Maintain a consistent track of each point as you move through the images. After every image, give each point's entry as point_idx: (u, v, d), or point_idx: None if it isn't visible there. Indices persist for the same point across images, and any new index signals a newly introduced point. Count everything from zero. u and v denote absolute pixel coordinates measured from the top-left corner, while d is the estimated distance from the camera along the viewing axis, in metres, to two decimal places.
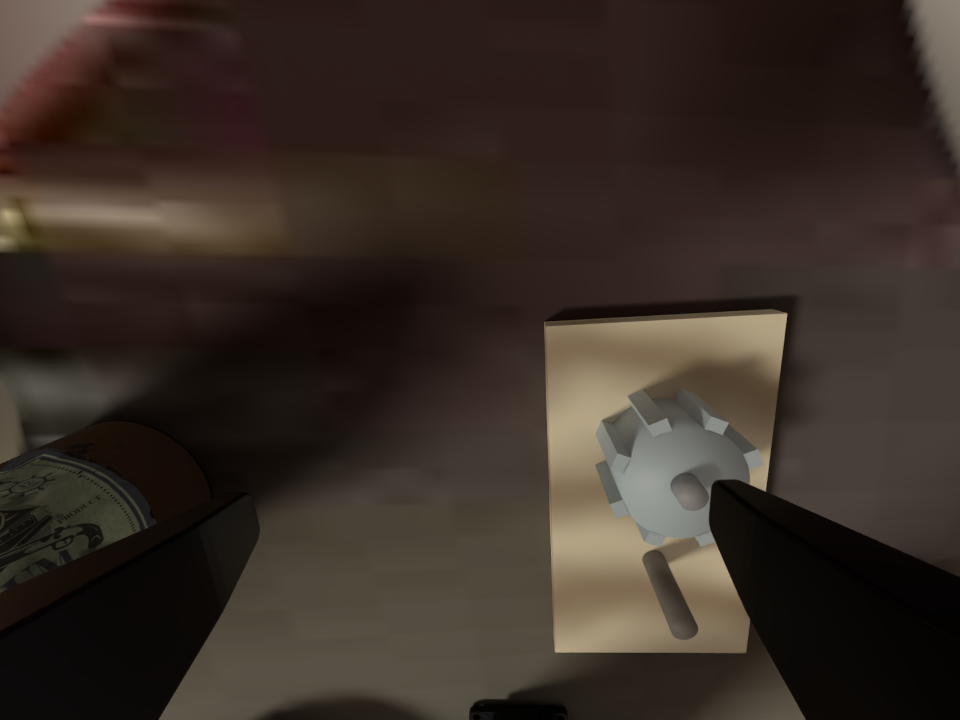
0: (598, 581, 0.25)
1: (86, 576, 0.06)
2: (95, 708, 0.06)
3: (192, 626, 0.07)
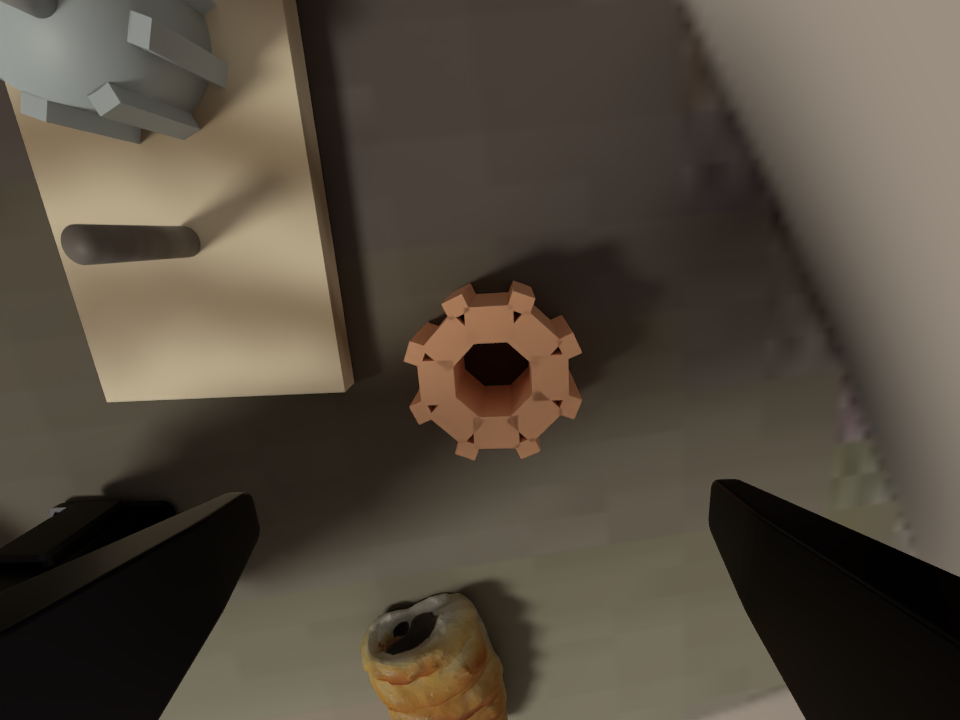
0: (126, 283, 0.18)
1: (86, 576, 0.06)
2: (95, 708, 0.06)
3: (192, 626, 0.07)
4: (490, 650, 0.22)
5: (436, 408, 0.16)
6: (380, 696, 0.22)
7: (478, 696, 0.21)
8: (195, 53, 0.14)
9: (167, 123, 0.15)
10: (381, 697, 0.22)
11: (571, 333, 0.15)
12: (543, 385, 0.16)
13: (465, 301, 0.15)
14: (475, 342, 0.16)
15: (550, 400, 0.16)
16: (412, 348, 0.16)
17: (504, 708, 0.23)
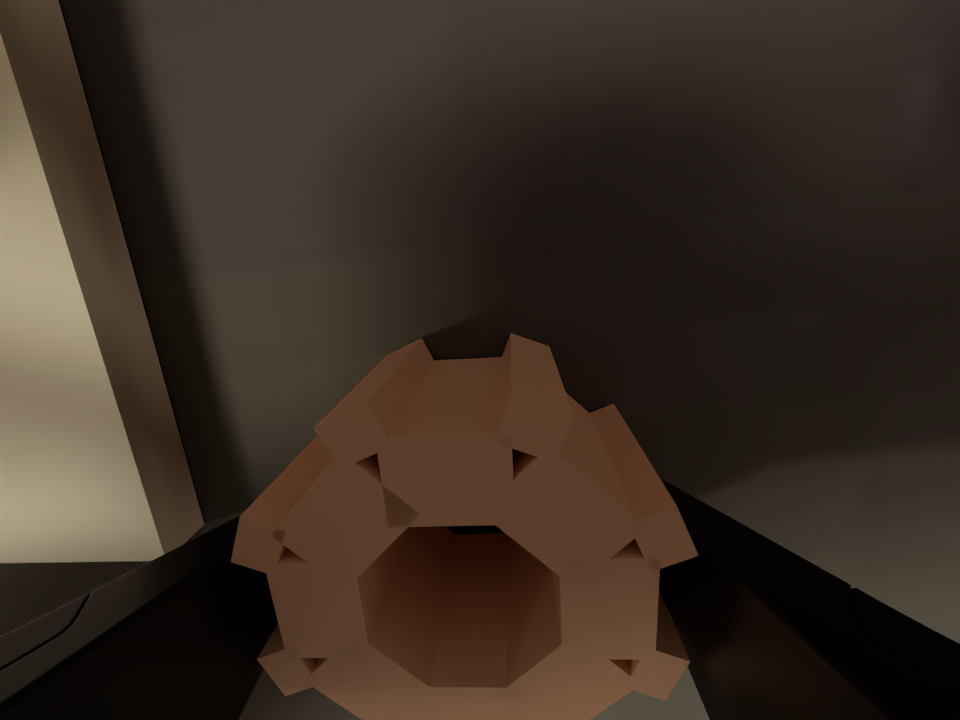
0: None
1: (175, 575, 0.06)
2: (186, 709, 0.06)
3: (266, 626, 0.07)
4: None
5: (323, 664, 0.07)
6: None
7: None
8: None
9: None
10: None
11: (672, 507, 0.06)
12: (590, 626, 0.06)
13: (380, 420, 0.06)
14: (412, 519, 0.06)
15: (607, 658, 0.06)
16: (249, 533, 0.06)
17: None
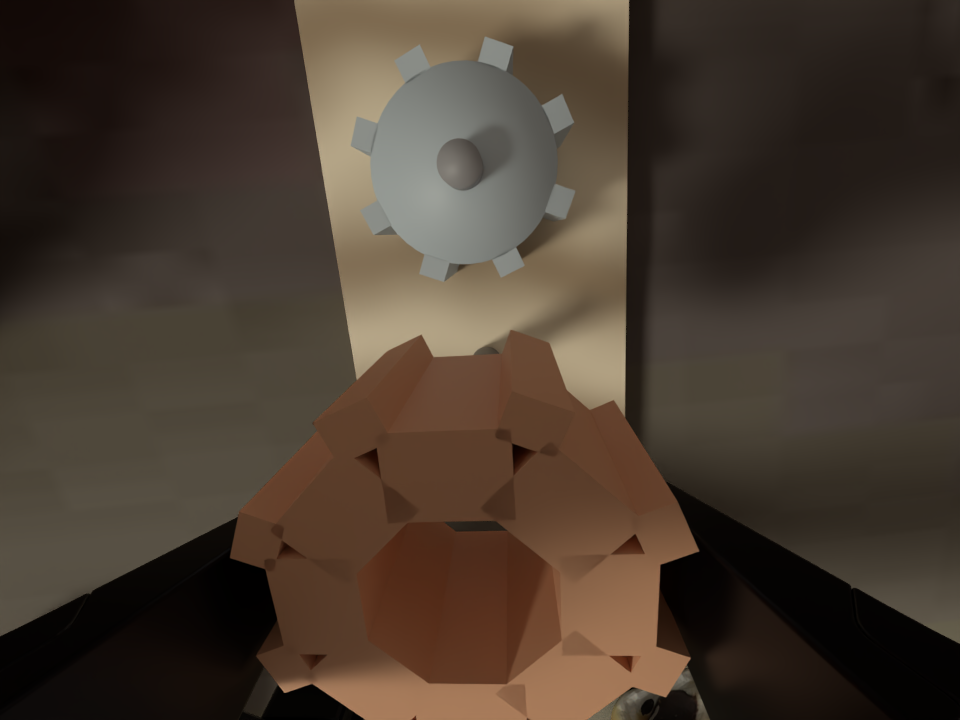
0: None
1: (174, 575, 0.06)
2: (186, 709, 0.06)
3: (266, 626, 0.07)
4: None
5: (322, 661, 0.07)
6: None
7: None
8: None
9: None
10: None
11: (672, 503, 0.06)
12: (590, 622, 0.06)
13: (380, 414, 0.06)
14: (412, 515, 0.06)
15: (607, 654, 0.06)
16: (248, 528, 0.06)
17: None
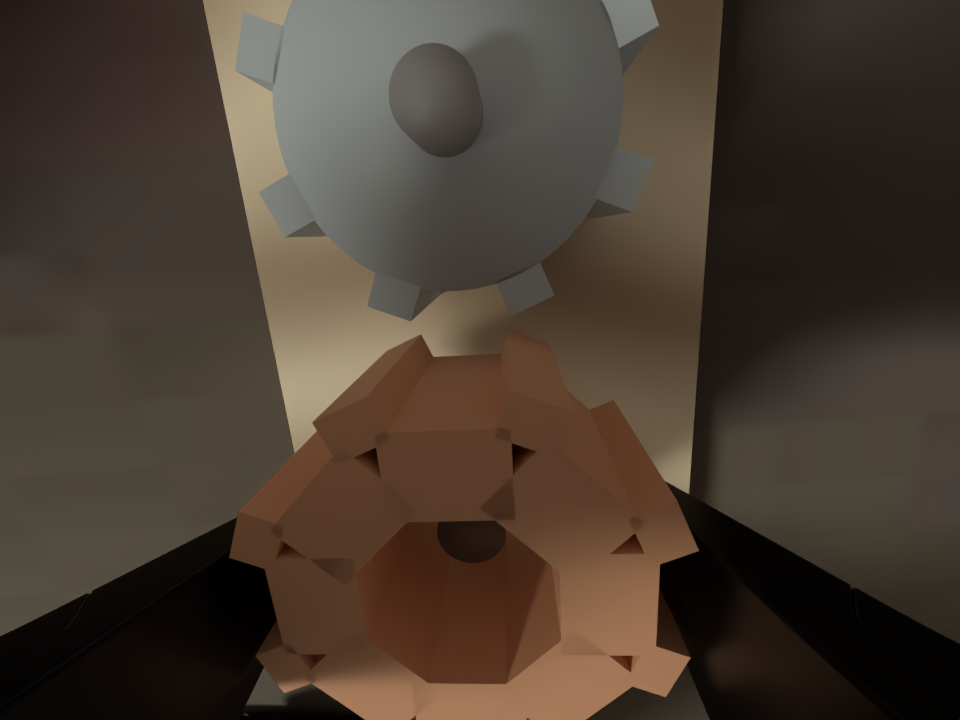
0: None
1: (175, 575, 0.06)
2: (186, 709, 0.06)
3: (266, 626, 0.07)
4: None
5: (322, 661, 0.07)
6: None
7: None
8: None
9: None
10: None
11: (672, 502, 0.06)
12: (590, 622, 0.06)
13: (379, 414, 0.06)
14: (411, 515, 0.06)
15: (607, 654, 0.06)
16: (248, 528, 0.06)
17: None
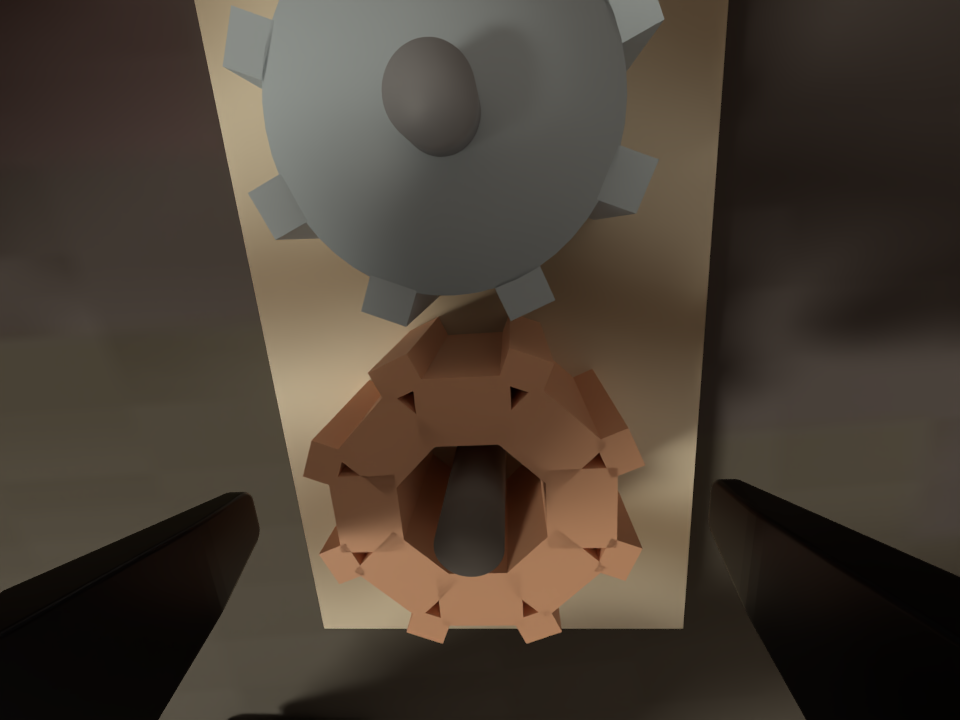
0: None
1: (86, 576, 0.06)
2: (95, 708, 0.06)
3: (192, 626, 0.07)
4: None
5: (369, 557, 0.09)
6: None
7: None
8: None
9: None
10: None
11: (625, 429, 0.08)
12: (568, 522, 0.08)
13: (415, 367, 0.08)
14: (437, 443, 0.08)
15: (581, 547, 0.08)
16: (318, 453, 0.08)
17: None
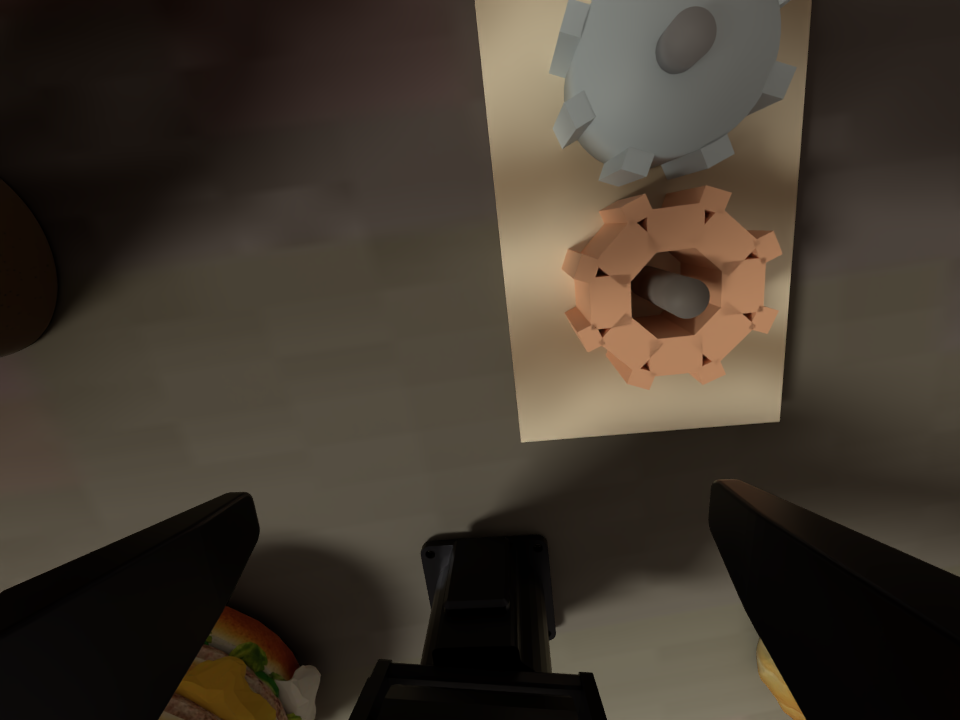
0: (570, 325, 0.18)
1: (86, 576, 0.06)
2: (95, 708, 0.06)
3: (192, 626, 0.07)
4: None
5: (608, 332, 0.15)
6: None
7: None
8: None
9: None
10: None
11: (771, 231, 0.13)
12: (734, 296, 0.14)
13: (647, 203, 0.13)
14: (656, 252, 0.14)
15: (741, 313, 0.14)
16: (584, 263, 0.14)
17: None
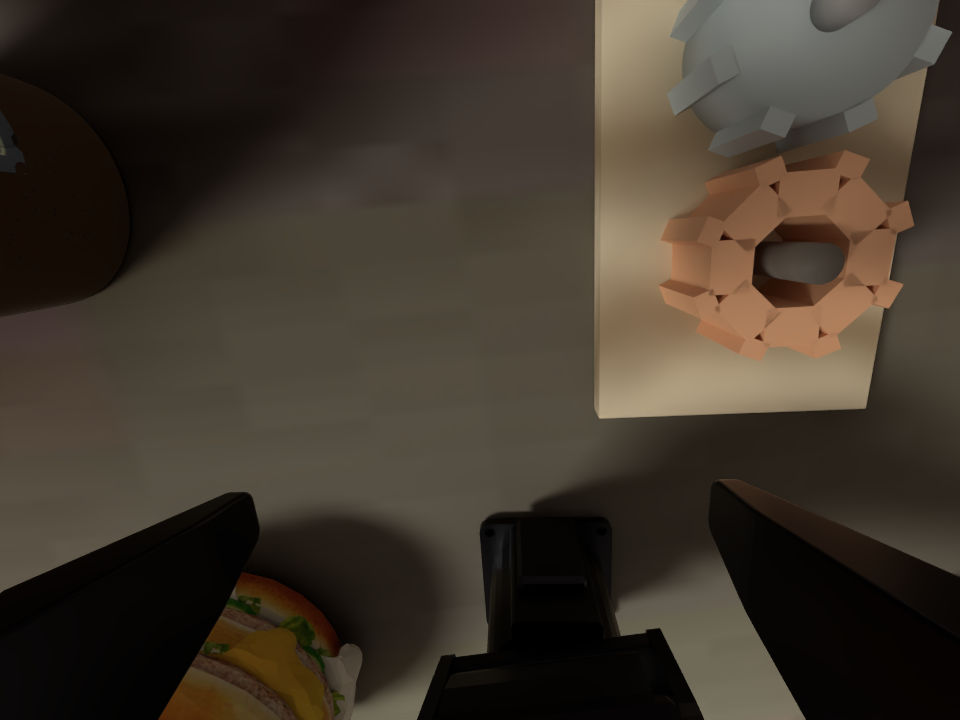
0: (663, 298, 0.18)
1: (86, 576, 0.06)
2: (95, 708, 0.06)
3: (192, 626, 0.07)
4: None
5: (725, 298, 0.14)
6: None
7: None
8: None
9: None
10: None
11: (905, 202, 0.13)
12: (860, 267, 0.14)
13: (781, 165, 0.13)
14: (783, 217, 0.14)
15: (864, 286, 0.14)
16: (710, 225, 0.14)
17: None
